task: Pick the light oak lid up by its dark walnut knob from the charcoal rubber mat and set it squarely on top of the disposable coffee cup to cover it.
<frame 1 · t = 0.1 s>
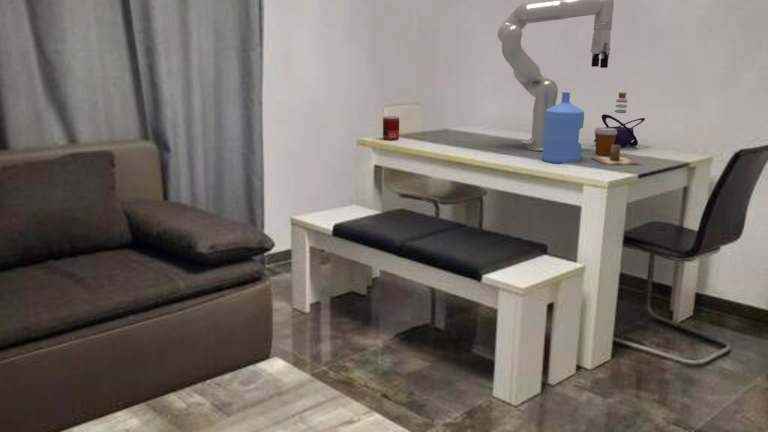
hand: (599, 67, 321), 37 cm above the table, tool pointing down, fingers open, 9 cm apart
decorative bottle: (617, 147, 339), on the table
disposable coffee cup: (603, 157, 311), on the table
water jug: (561, 161, 300), on the table
oak lid: (614, 162, 293), point 1 cm above the table, touching rubber mat
rubber mat: (614, 164, 294), on the table
canned food: (390, 139, 352), on the table
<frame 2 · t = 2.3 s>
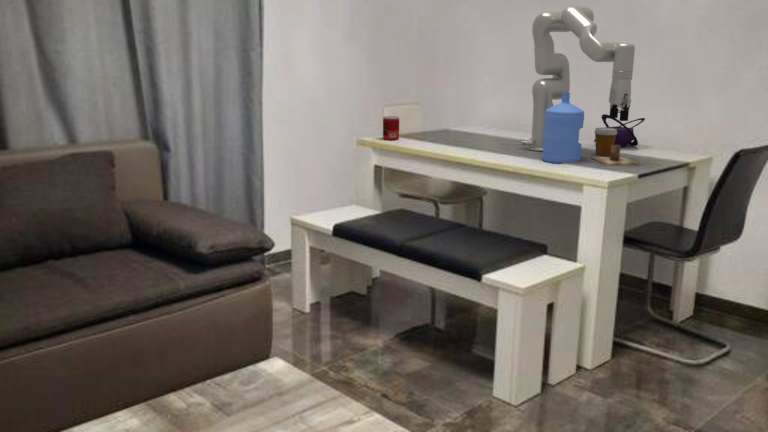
hand: (618, 119, 289), 18 cm above the table, tool pointing down, fingers open, 9 cm apart
nothing on the table moved.
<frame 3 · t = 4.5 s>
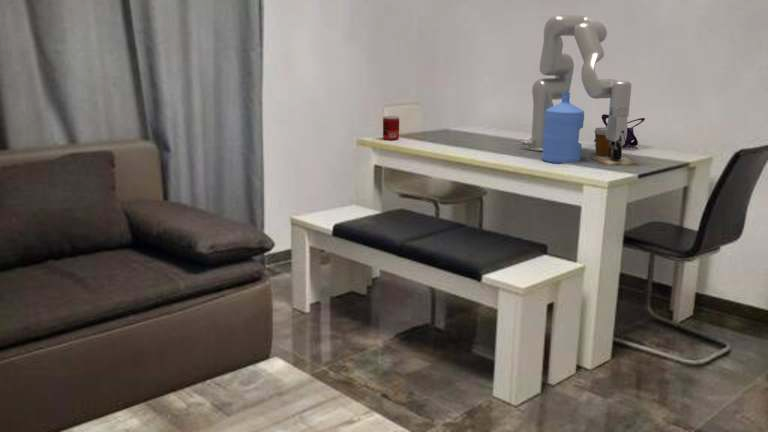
hand: (614, 157, 293), 3 cm above the table, tool pointing down, fingers closed on oak lid, 3 cm apart
oak lid: (614, 162, 293), point 1 cm above the table, touching gripper, rubber mat
everything else where it was.
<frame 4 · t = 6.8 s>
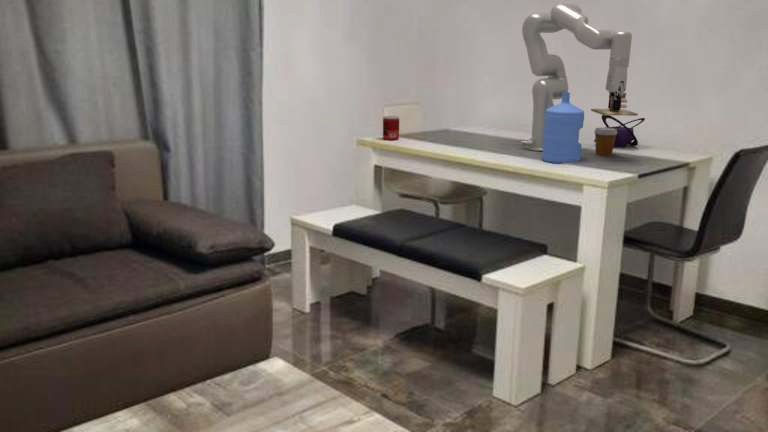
hand: (614, 108, 295), 22 cm above the table, tool pointing down, fingers closed on oak lid, 3 cm apart
oak lid: (613, 113, 295), point 20 cm above the table, touching gripper
everything else where it was.
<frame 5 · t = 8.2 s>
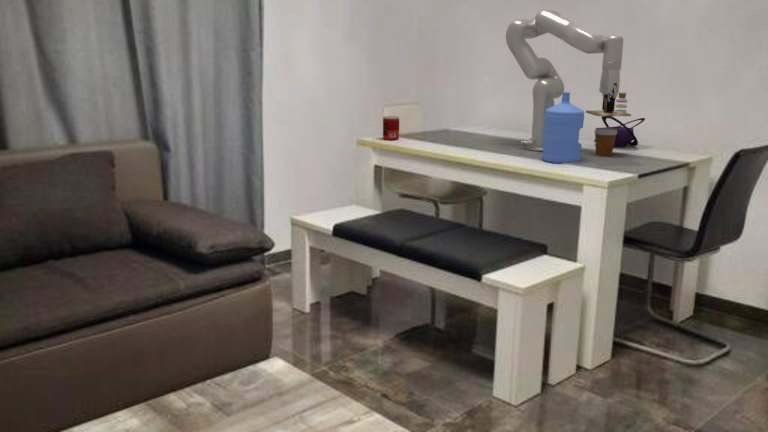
hand: (608, 110, 306), 20 cm above the table, tool pointing down, fingers closed on oak lid, 3 cm apart
oak lid: (607, 114, 307), point 18 cm above the table, touching gripper
everything else where it was.
when the fingers open (15 cm above the table, at t = 9.5 s): oak lid drops 1 cm, resting on disposable coffee cup.
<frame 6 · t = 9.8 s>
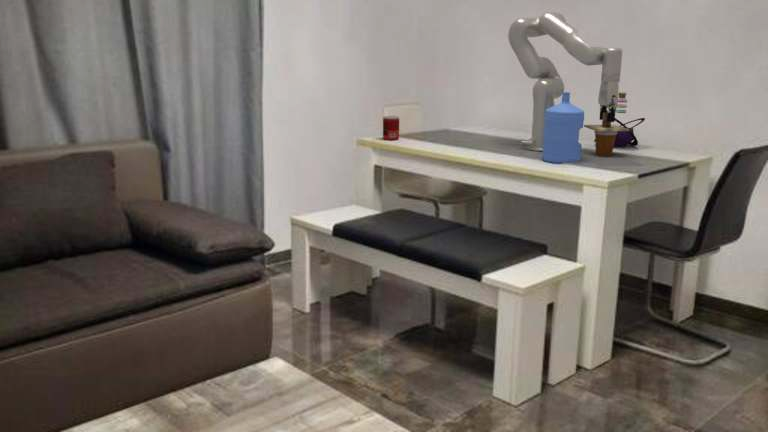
hand: (606, 120, 307), 16 cm above the table, tool pointing down, fingers open, 7 cm apart
disposable coffee cup: (603, 157, 311), on the table, touching oak lid
oak lid: (606, 128, 308), point 12 cm above the table, touching disposable coffee cup
everything else where it was.
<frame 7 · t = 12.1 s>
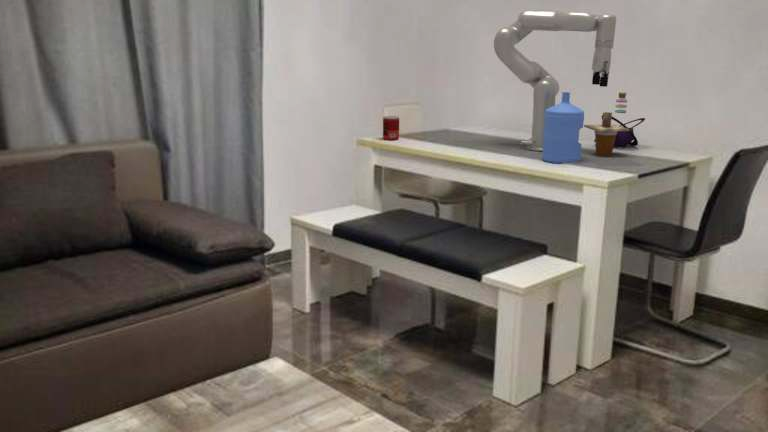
hand: (599, 85, 313), 29 cm above the table, tool pointing down, fingers open, 9 cm apart
nothing on the table moved.
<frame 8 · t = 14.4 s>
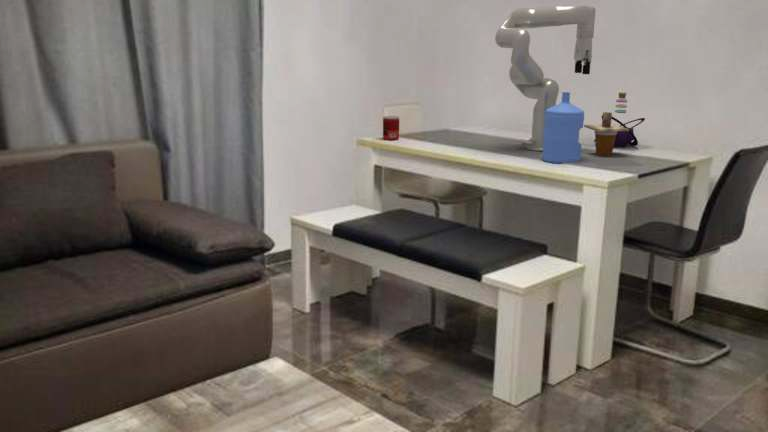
hand: (581, 73, 332), 33 cm above the table, tool pointing down, fingers open, 9 cm apart
nothing on the table moved.
at the end: oak lid 0.1 cm from the disposable coffee cup (horizontally); oak lid point 12.0 cm above the table; disposable coffee cup tilted 0° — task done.
